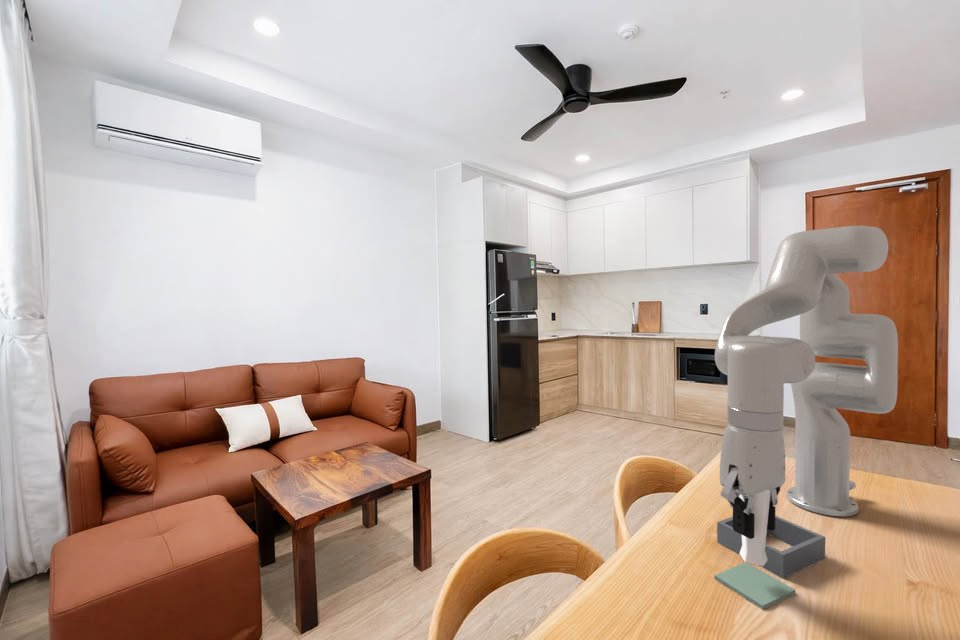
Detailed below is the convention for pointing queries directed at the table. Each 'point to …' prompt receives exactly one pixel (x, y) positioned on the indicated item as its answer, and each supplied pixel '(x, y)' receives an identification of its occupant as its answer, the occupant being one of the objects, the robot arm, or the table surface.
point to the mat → (755, 585)
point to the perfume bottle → (757, 530)
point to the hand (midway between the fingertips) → (753, 529)
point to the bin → (781, 563)
